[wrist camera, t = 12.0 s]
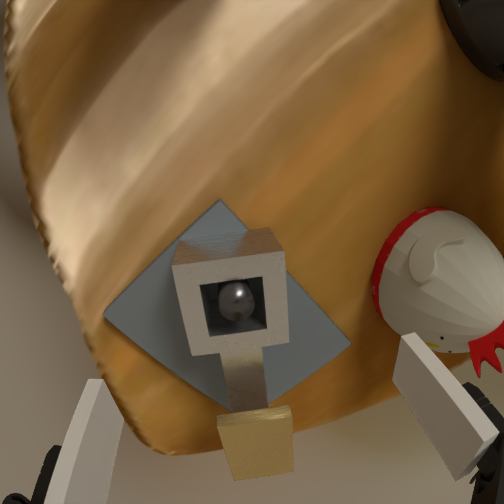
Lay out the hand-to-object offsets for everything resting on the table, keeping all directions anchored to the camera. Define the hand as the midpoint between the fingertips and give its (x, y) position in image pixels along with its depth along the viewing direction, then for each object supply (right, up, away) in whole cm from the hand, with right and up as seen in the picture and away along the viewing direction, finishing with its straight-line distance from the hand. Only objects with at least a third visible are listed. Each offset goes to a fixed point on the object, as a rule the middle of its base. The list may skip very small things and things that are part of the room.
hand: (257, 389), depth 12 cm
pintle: (-2, +4, +13) cm, 14 cm away
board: (-2, -1, +16) cm, 17 cm away
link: (-2, 0, +15) cm, 15 cm away
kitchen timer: (+18, +4, +18) cm, 25 cm away
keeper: (-1, -7, +17) cm, 18 cm away
